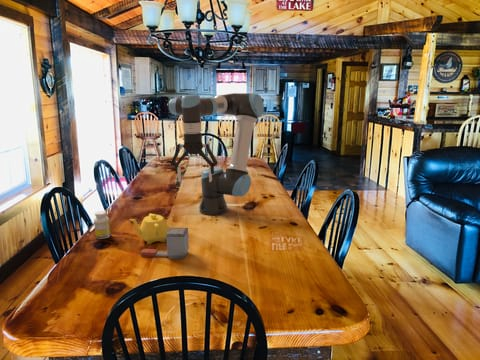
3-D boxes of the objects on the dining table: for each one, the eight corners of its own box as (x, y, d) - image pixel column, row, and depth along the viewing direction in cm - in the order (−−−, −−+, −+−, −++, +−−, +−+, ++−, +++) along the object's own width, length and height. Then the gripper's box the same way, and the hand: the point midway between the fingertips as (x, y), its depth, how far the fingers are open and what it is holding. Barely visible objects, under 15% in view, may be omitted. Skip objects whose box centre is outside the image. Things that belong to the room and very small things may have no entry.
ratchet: (145, 250, 157) (144, 236, 155) (187, 251, 155) (186, 237, 154) (139, 258, 150) (138, 243, 148) (183, 259, 149) (183, 244, 147)
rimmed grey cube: (172, 247, 156) (170, 227, 153) (188, 248, 155) (187, 227, 153) (167, 255, 149) (166, 234, 147) (185, 255, 148) (184, 234, 146)
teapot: (149, 232, 177) (147, 208, 174) (175, 236, 172) (174, 211, 169) (130, 243, 164) (128, 218, 161) (159, 248, 159) (157, 221, 156)
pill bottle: (107, 232, 176) (104, 209, 173) (113, 236, 172) (110, 212, 169) (93, 236, 172) (90, 212, 169) (99, 240, 167) (96, 216, 164)
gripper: (161, 134, 156) (164, 183, 161) (220, 133, 154) (222, 183, 160) (165, 131, 163) (169, 178, 169) (223, 130, 161) (224, 178, 167)
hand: (195, 181), depth 164 cm, fingers open, 13 cm apart
